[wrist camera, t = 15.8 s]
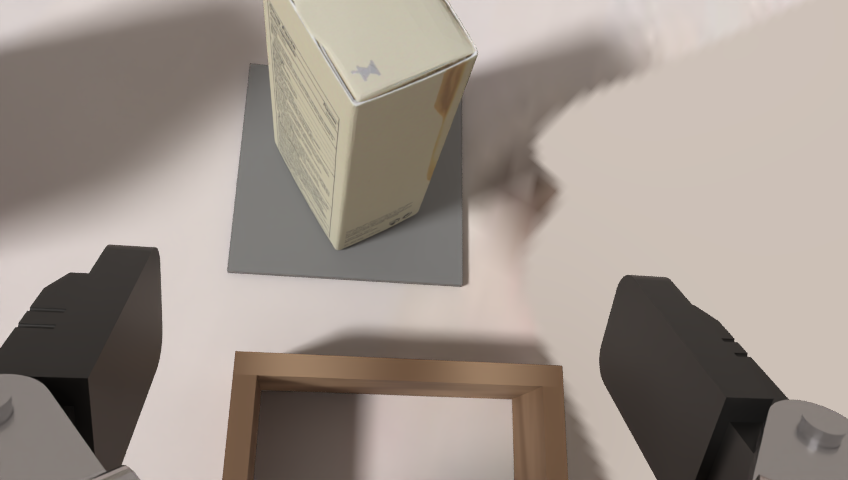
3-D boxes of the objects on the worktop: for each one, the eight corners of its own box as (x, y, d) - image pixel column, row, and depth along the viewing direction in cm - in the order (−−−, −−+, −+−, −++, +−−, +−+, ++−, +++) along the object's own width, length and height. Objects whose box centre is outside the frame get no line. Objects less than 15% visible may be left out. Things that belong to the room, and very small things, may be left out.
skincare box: (421, 214, 32) (491, 61, 21) (334, 255, 31) (358, 117, 19) (353, 98, 33) (384, -105, 22) (267, 133, 32) (253, -64, 21)
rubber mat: (227, 272, 30) (227, 270, 30) (250, 66, 33) (250, 63, 33) (460, 286, 32) (462, 284, 31) (460, 89, 35) (461, 85, 35)
